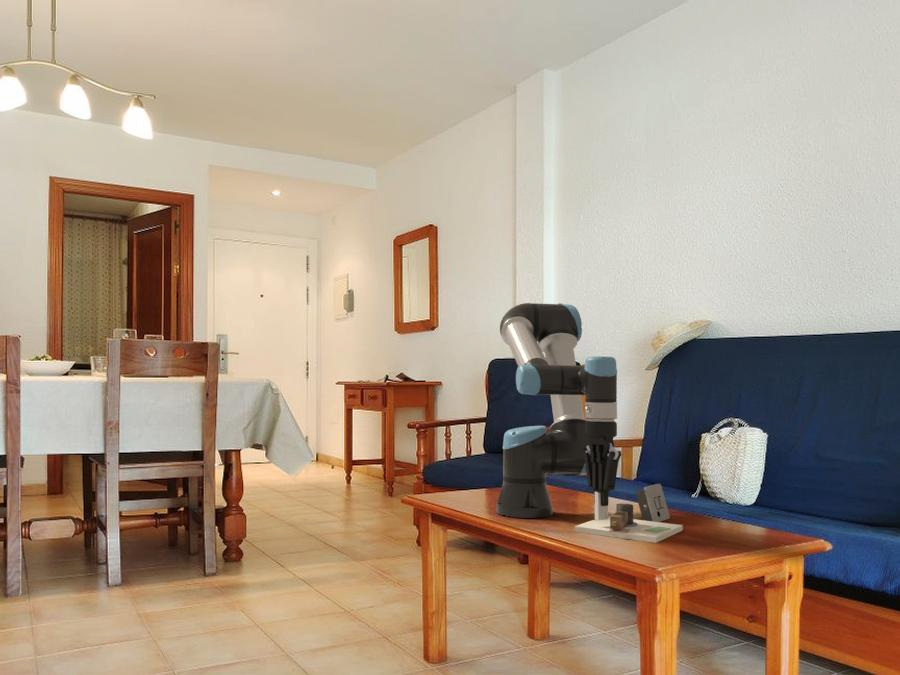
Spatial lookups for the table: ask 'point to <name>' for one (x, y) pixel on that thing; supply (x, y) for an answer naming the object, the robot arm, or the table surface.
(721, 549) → the table surface
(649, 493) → the electrical switch
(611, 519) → the peg
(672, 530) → the tuner plate
